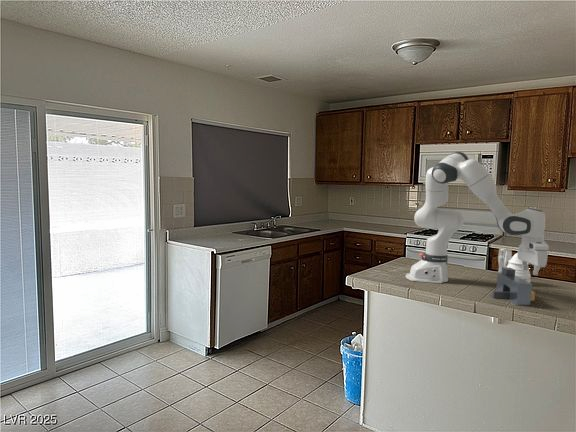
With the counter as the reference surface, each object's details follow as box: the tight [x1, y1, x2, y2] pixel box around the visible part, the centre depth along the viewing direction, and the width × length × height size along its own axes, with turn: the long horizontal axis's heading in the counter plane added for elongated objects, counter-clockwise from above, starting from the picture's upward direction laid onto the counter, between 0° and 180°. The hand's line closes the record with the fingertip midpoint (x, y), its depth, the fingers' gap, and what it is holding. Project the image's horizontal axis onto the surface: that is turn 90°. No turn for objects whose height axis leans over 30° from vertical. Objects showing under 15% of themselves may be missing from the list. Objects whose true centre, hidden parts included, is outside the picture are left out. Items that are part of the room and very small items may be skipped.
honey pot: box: [507, 252, 532, 283], centre depth 223 cm, size 13×13×18 cm
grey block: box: [495, 267, 533, 307], centre depth 194 cm, size 6×21×13 cm, turn 176°
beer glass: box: [497, 248, 513, 273], centre depth 241 cm, size 7×7×15 cm
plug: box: [491, 290, 536, 302], centre depth 194 cm, size 18×4×4 cm, turn 86°
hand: (529, 272), depth 192 cm, fingers open, 8 cm apart
